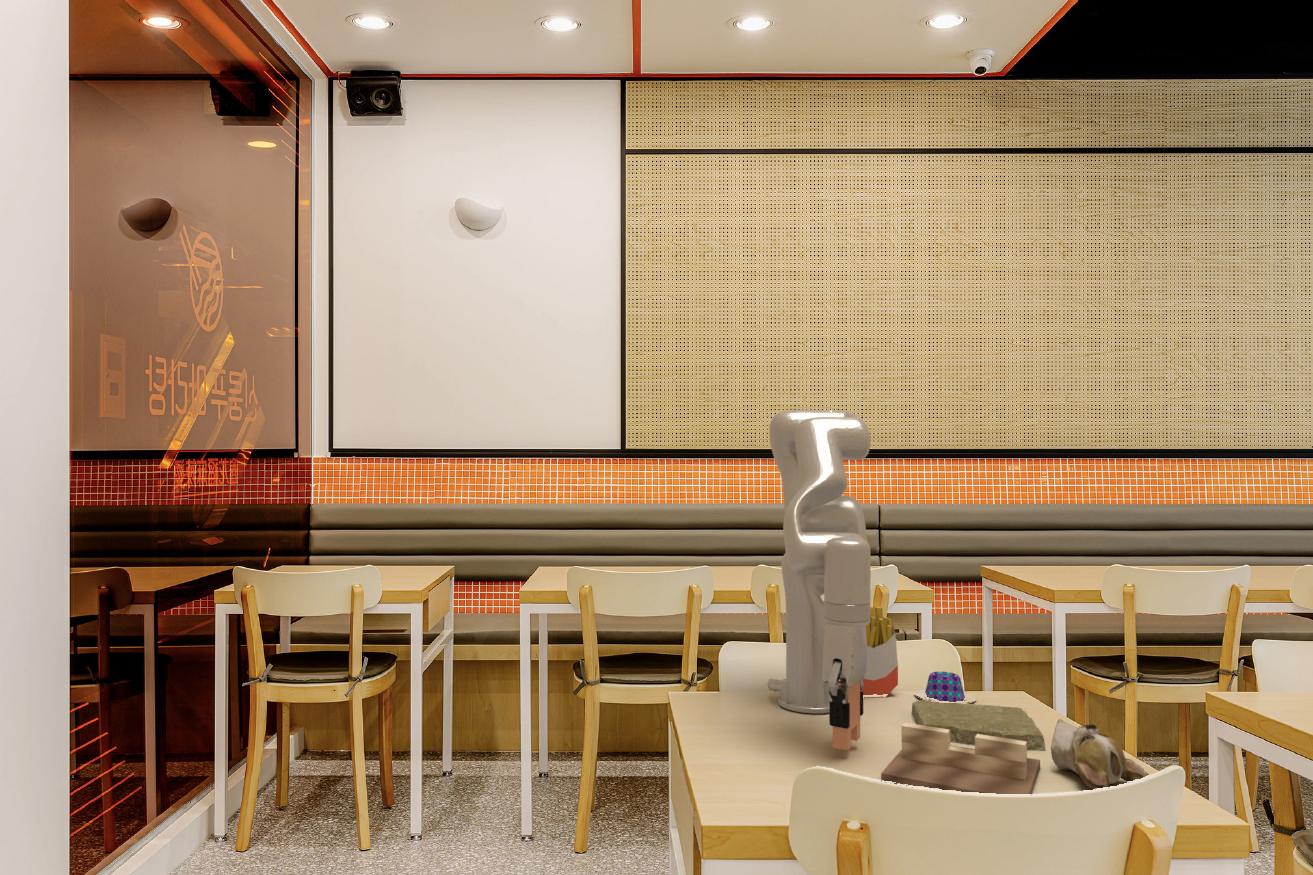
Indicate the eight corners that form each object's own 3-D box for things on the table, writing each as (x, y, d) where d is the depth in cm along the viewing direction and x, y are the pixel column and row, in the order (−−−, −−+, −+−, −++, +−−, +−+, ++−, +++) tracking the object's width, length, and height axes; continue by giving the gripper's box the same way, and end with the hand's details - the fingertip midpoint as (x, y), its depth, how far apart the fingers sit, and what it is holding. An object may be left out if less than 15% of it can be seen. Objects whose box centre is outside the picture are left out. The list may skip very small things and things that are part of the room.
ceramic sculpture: (1086, 706, 133) (1165, 741, 118) (1085, 759, 133) (1164, 801, 118) (1030, 711, 130) (1104, 747, 115) (1029, 765, 130) (1102, 808, 116)
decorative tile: (911, 715, 159) (911, 696, 159) (1022, 722, 155) (1022, 703, 155) (922, 746, 141) (922, 725, 141) (1048, 755, 137) (1048, 733, 137)
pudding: (974, 694, 174) (973, 669, 174) (977, 710, 162) (977, 683, 162) (914, 690, 177) (914, 665, 177) (914, 704, 166) (914, 678, 166)
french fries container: (898, 697, 170) (898, 609, 171) (849, 699, 168) (849, 610, 169) (888, 691, 175) (888, 606, 176) (840, 693, 173) (840, 607, 174)
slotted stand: (881, 781, 123) (880, 739, 123) (910, 745, 139) (910, 708, 140) (1026, 809, 113) (1026, 763, 113) (1040, 767, 129) (1039, 727, 130)
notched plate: (832, 747, 134) (832, 685, 134) (845, 734, 140) (845, 675, 140) (847, 750, 132) (847, 688, 133) (860, 737, 138) (860, 678, 139)
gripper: (841, 602, 146) (840, 703, 145) (807, 618, 131) (807, 731, 130) (883, 606, 142) (883, 710, 142) (853, 624, 127) (853, 739, 127)
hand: (846, 719), depth 136 cm, fingers closed on notched plate, 6 cm apart
